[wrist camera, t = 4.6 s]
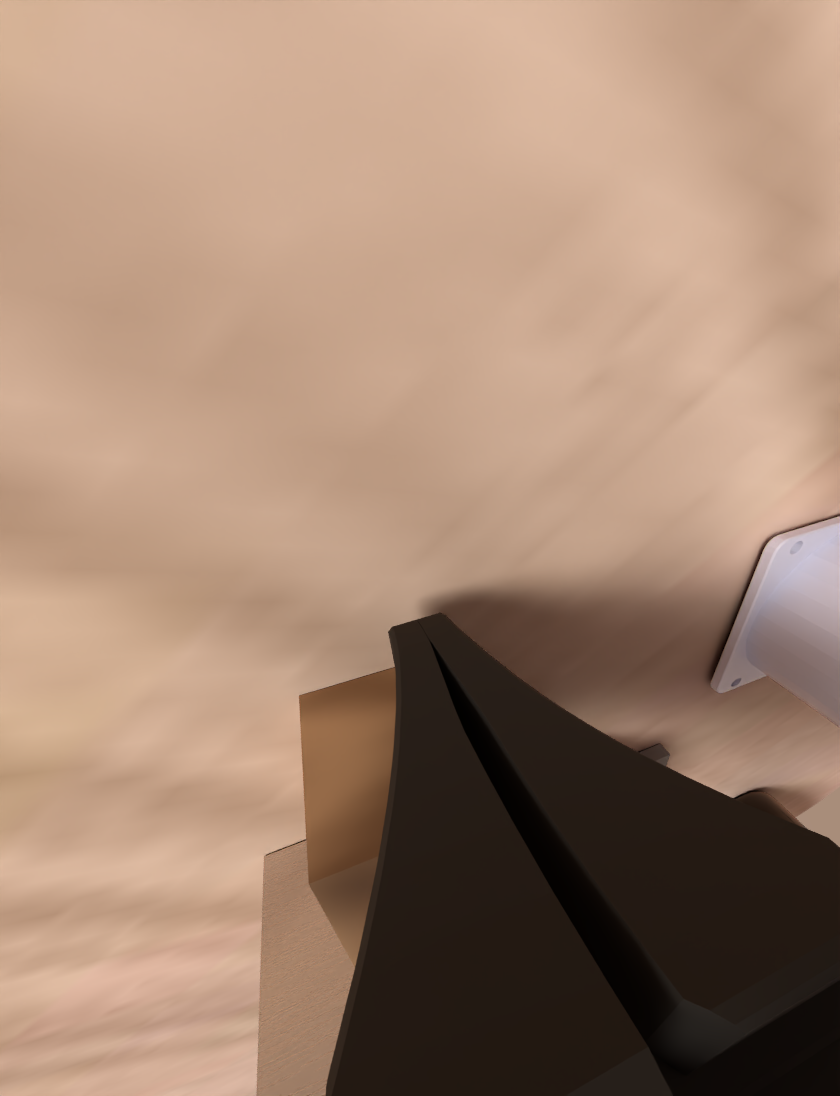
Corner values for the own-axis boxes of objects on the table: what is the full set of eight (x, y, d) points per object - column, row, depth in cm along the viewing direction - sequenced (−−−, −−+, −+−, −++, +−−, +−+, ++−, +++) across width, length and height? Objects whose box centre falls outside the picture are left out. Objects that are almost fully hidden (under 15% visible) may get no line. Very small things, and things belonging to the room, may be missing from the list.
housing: (579, 734, 17) (738, 952, 11) (572, 773, 18) (709, 983, 12) (264, 856, 14) (252, 1227, 8) (287, 890, 16) (291, 1223, 10)
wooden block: (449, 651, 12) (532, 812, 8) (464, 859, 19) (512, 999, 15) (299, 695, 11) (309, 903, 7) (373, 897, 18) (399, 1057, 14)
